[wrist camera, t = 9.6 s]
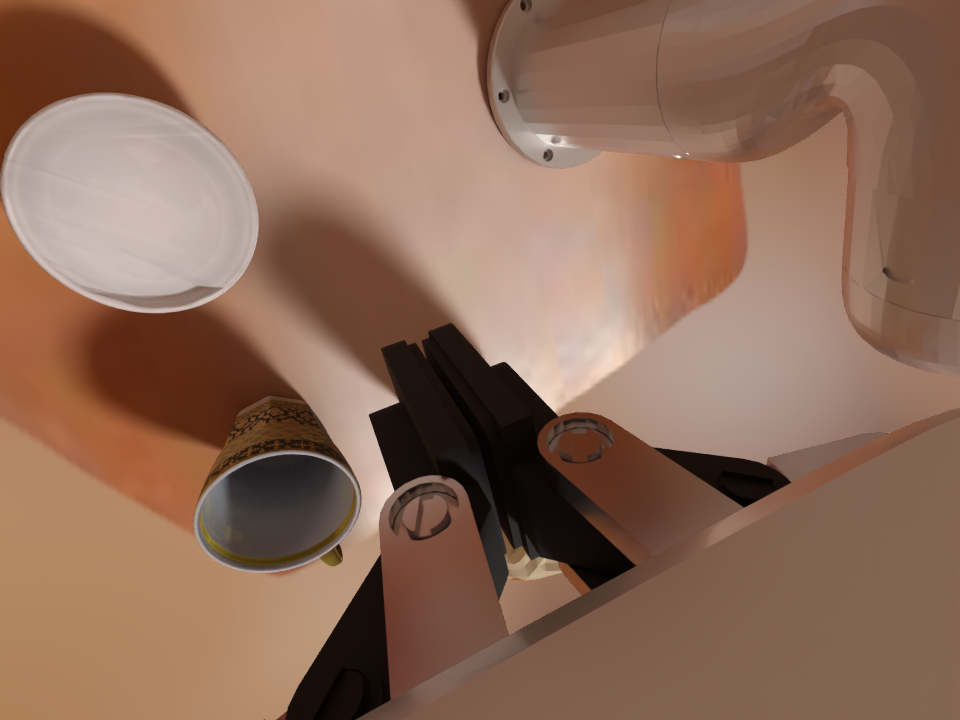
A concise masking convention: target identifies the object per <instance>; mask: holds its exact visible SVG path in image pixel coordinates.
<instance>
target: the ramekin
mask: <svg viewBox="0 0 960 720" xmlns="http://www.w3.org/2000/svg"><path fill="white" fill-rule="evenodd" d="M0 193H1V198H2V203H3V207H4V210H5V213H6V216H7V218H8V221H9V223H10V225H11V227H12V229H13V231H14V233H15V235H16V236H17V238H18V240H19V241H20V243H21V244H22V246H23V247H24V248H25V250H26V251H27V252H28V253H29V255H30V256H31V257H32V258H33V259H34V260H35V261H36V262H37V263H38V264H39V265H40V266H41V267H42V268H43V269H44V270H45V271H47V272H48V273H49V274H50V275H51V276H52V277H54V278H55V279H57V280H58V281H59V282H61V283H62V284H64V285H65V286H67V287H68V288H70V289H72V290H73V291H75V292H77V293H79V294H81V295H83V296H85V297H87V298H89V299H92V300H94V301H96V302H99V303H101V304H104V305H107V306H110V307H114V308H118V309H123V310H127V311H132V312H141V313H168V312H177V311H182V310H187V309H191V308H194V307H197V306H200V305H203V304H205V303H207V302H209V301H211V300H213V299H215V298H217V297H218V296H220V295H221V294H223V293H224V292H226V291H227V290H228V289H229V288H230V287H231V286H233V285H234V284H235V283H236V282H237V281H238V279H239V278H240V277H241V276H242V274H243V273H244V271H245V270H246V268H247V266H248V265H249V263H250V261H251V258H252V256H253V253H254V250H255V247H256V243H257V238H258V230H259V217H258V208H257V203H256V198H255V195H254V191H253V188H252V186H251V183H250V181H249V179H248V177H247V175H246V173H245V171H244V169H243V168H242V166H241V164H240V163H239V161H238V160H237V159H236V157H235V156H234V154H233V153H232V152H231V151H230V149H229V148H228V147H227V146H226V145H225V144H224V143H223V142H222V141H221V140H220V139H219V138H218V137H217V136H216V135H215V134H214V133H213V132H211V131H210V130H209V129H208V128H207V127H205V126H204V125H202V124H201V123H200V122H198V121H197V120H195V119H194V118H192V117H191V116H189V115H187V114H185V113H183V112H182V111H180V110H178V109H176V108H174V107H171V106H169V105H166V104H164V103H161V102H158V101H155V100H151V99H148V98H144V97H140V96H135V95H130V94H123V93H110V92H103V93H89V94H82V95H77V96H73V97H68V98H65V99H62V100H59V101H56V102H54V103H52V104H50V105H48V106H46V107H44V108H42V109H41V110H39V111H38V112H36V113H35V114H34V115H32V116H31V117H30V118H29V119H28V120H27V121H26V122H24V123H23V125H22V126H21V127H20V128H19V129H18V130H17V132H16V133H15V135H14V136H13V138H12V139H11V141H10V144H9V145H8V147H7V150H6V152H5V154H4V160H3V163H2V167H1V173H0Z"/></svg>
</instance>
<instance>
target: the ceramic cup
mask: <svg viewBox="0 0 960 720" xmlns="http://www.w3.org/2000/svg"><path fill="white" fill-rule="evenodd" d="M360 508H361V490H360V486H359V483H358V481H357V479H356V477H355V475H354V473H353V471H352V469H351V467H350V466H349V464H348V462H347V461H346V459H345V458H344V456H343V454H342V453H341V452H340V450H339V449H338V448H337V447H336V446H335V444H334V443H333V442H332V440H331V438H330V437H329V435H328V433H327V431H326V429H325V428H324V426H323V424H322V423H321V421H320V420H319V419H318V417H317V416H316V415H315V413H314V412H313V411H312V409H311V408H310V406H309V405H308V404H307V403H306V402H305V401H302V400H297V399H291V398H284V397H278V396H267V397H265V398H263V399H261V400H259V401H257V402H256V403H254V404H252V405H250V406H248V407H246V408H244V409H242V410H241V411H240V412H239V413H238V415H237V417H236V419H235V422H234V425H233V427H232V429H231V431H230V434H229V436H228V438H227V440H226V443H225V445H224V447H223V450H222V451H221V453H220V454H219V456H218V458H217V459H216V461H215V463H214V465H213V467H212V469H211V471H210V473H209V475H208V477H207V479H206V481H205V484H204V486H203V488H202V491H201V494H200V496H199V499H198V501H197V504H196V507H195V510H194V515H193V529H194V534H195V537H196V539H197V541H198V543H199V545H200V546H201V548H202V549H203V550H204V551H205V552H206V553H207V555H209V556H210V557H211V558H212V559H214V560H215V561H217V562H219V563H220V564H222V565H225V566H227V567H230V568H233V569H236V570H240V571H246V572H256V573H266V572H277V571H283V570H288V569H292V568H295V567H299V566H301V565H304V564H307V563H309V562H312V561H314V560H316V559H318V558H319V557H320V558H321V560H322V561H323V562H324V563H326V564H327V565H329V566H336V565H338V564H340V563H341V562H342V560H343V557H342V556H343V555H342V550H341V547H340V545H339V543H340V542H341V541H342V540H343V539H344V538H345V537H346V536H347V534H348V533H349V532H350V531H351V529H352V527H353V526H354V524H355V522H356V520H357V518H358V515H359V512H360Z"/></svg>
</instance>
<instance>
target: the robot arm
mask: <svg viewBox="0 0 960 720" xmlns="http://www.w3.org/2000/svg"><path fill="white" fill-rule="evenodd" d="M520 3H521V4H522V6H523V10H521V7H520ZM487 89H488V96H489V102H490V106H491V109H492V112H493V115H494V118H495V121H496V123H497V125H498V127H499V129H500V131H501V133H502V135H503V137H504V138H505V139H506V140H507V142H508V143H509V144H510V145H511V147H512V148H513V149H514V150H515V151H516V152H518V153H519V154H520V155H521V156H522V157H524V158H525V159H527V160H529V161H531V162H533V163H535V164H537V165H541V166H545V167H550V168H559V169H562V168H570V167H575V166H578V165H581V164H584V163H586V162H588V161H590V160H591V159H593V158H595V157H596V156H598V155H599V154H600V153H601V152H603V151H609V152H619V153H630V154H640V155H650V156H660V157H670V158H680V159H690V160H704V161H714V162H725V163H743V162H750V161H757V160H760V159H764V158H767V157H770V156H773V155H776V154H779V153H781V152H783V151H785V150H787V149H789V148H791V147H793V146H794V145H796V144H798V143H800V142H801V141H803V140H805V139H806V138H808V137H809V136H811V135H812V134H814V133H815V132H816V131H818V130H819V129H821V128H822V127H823V126H824V125H826V124H827V123H829V122H830V121H831V120H833V119H834V118H835V117H836V116H837V115H839V114H840V113H841V112H842V111H843V113H844V116H845V118H846V124H847V132H848V133H847V167H848V185H847V199H846V214H845V229H844V242H843V257H842V296H843V301H844V307H845V310H846V313H847V316H848V318H849V321H850V322H851V324H852V326H853V327H854V329H855V330H856V332H857V333H858V334H859V335H860V337H861V338H862V339H863V340H864V341H866V342H867V343H868V344H870V345H871V346H872V347H873V348H874V349H875V350H877V351H879V352H880V353H882V354H883V355H885V356H887V357H889V358H891V359H893V360H896V361H898V362H901V363H903V364H906V365H908V366H911V367H914V368H917V369H921V370H924V371H928V372H932V373H937V374H942V375H947V376H953V377H960V0H510V1H509V2H508V4H507V5H506V6H505V8H504V10H503V12H502V14H501V16H500V18H499V20H498V22H497V24H496V26H495V29H494V33H493V36H492V39H491V42H490V46H489V53H488V60H487ZM499 93H501V95H502V98H501V100H499V98H498V97H499ZM544 153H545V156H544V157H543V154H544ZM428 334H429V338H427V339H424V340H422V344H423V348H424V351H425V355H426V358H427V359H426V358H425V356H424V355H423V353H422V352H421V350H420V349H419V347H418V346H417V344H416V343H413V344H411V345H407V344H406V342H405V341H404V340H403V341H400V342H398V343H395V344H392V345H389V346H386V347H384V348H381V351H382V354H383V357H384V360H385V363H386V365H387V368H388V371H389V374H390V377H391V379H392V382H393V385H394V388H395V391H396V394H397V396H398V399H399V403H397V404H394V405H392V406H389V407H387V408H384V409H381V410H379V411H376V412H374V413H371V414H369V417H370V420H371V423H372V426H373V429H374V432H375V435H376V438H377V441H378V444H379V447H380V450H381V453H382V456H383V459H384V462H385V465H386V467H387V470H388V473H389V476H390V479H391V482H392V485H393V488H394V493H393V494H392V495H391V496H390V497H389V498H388V499H387V501H386V502H385V504H384V506H383V508H382V510H381V512H380V519H379V533H380V548H381V554H380V556H379V557H378V559H377V561H376V562H375V564H374V566H373V567H372V569H371V571H370V572H369V574H368V575H367V577H366V578H365V580H364V582H363V583H362V585H361V587H360V588H359V590H358V591H357V593H356V594H355V596H354V598H353V599H352V601H351V603H350V604H349V606H348V607H347V609H346V611H345V612H344V614H343V615H342V617H341V619H340V620H339V622H338V623H337V625H336V627H335V628H334V630H333V632H332V633H331V635H330V636H329V638H328V639H327V641H326V643H325V645H324V646H323V647H322V649H321V651H320V652H319V654H318V655H317V657H316V659H315V660H314V662H313V664H312V665H311V667H310V668H309V670H308V672H307V673H306V675H305V676H304V678H303V680H302V681H301V683H300V684H299V686H298V688H297V690H296V692H295V694H294V696H293V698H292V700H291V702H290V704H289V706H288V710H287V712H285V713H284V714H283V715H282V716H280V717H279V718H278V719H277V720H960V408H958V409H953V410H949V411H946V412H944V413H941V414H938V415H935V416H932V417H929V418H926V419H923V420H920V421H917V422H914V423H911V424H909V425H907V426H904V427H902V428H900V429H898V430H895V431H893V432H891V433H882V432H876V433H866V434H861V435H857V436H853V437H849V438H845V439H841V440H837V441H833V442H829V443H826V444H821V445H817V446H813V447H810V448H806V449H802V450H798V451H794V452H790V453H786V454H782V455H778V456H774V457H770V458H768V460H767V465H764V464H762V463H759V462H755V461H750V460H746V459H740V458H732V457H724V456H717V455H709V454H701V453H693V452H685V451H677V450H670V449H661V448H654V447H651V446H649V445H648V444H646V443H645V442H643V441H642V440H640V439H639V438H637V437H636V436H634V435H633V434H631V433H630V432H628V431H626V430H624V429H623V428H622V427H620V426H619V425H617V424H616V423H614V422H613V421H611V420H609V419H607V418H605V417H603V416H601V415H597V414H593V413H585V412H582V413H581V412H578V413H577V412H575V413H570V414H565V415H562V416H560V417H558V416H557V415H556V413H555V412H554V411H553V410H552V409H551V408H550V407H549V406H548V405H547V404H546V403H545V402H544V401H543V400H542V399H541V398H540V397H539V396H538V395H537V394H536V393H535V392H534V391H533V390H532V389H531V388H530V387H529V385H528V384H527V383H526V382H525V381H524V380H523V379H522V378H521V377H520V376H519V375H518V374H517V373H516V372H515V371H514V370H513V369H512V368H511V367H510V366H509V365H508V364H507V363H506V362H502V363H499V364H496V365H494V366H491V367H490V366H489V365H488V363H487V362H486V361H485V360H484V359H483V358H482V357H481V356H480V354H479V353H478V352H477V351H476V350H475V349H474V348H473V346H472V345H471V344H470V343H469V342H468V341H467V340H466V339H465V337H464V336H463V335H462V334H461V333H460V332H459V331H458V330H457V328H456V327H455V326H454V325H453V324H452V323H450V324H448V325H445V326H442V327H439V328H436V329H434V330H431V331H429V333H428ZM501 528H502V530H503V532H504V534H505V535H506V537H507V539H508V541H509V543H510V544H511V546H512V547H513V549H517V548H519V547H521V546H523V548H524V550H525V551H526V553H527V555H528V556H529V558H530V560H531V561H532V560H534V559H535V558H537V557H539V556H540V557H541V558H546V559H550V560H554V561H557V562H558V566H559V568H560V570H561V571H562V573H563V574H564V576H565V577H566V578H567V579H568V580H569V581H570V583H571V584H572V585H573V586H574V587H575V588H576V589H577V591H578V592H579V593H580V594H581V595H582V596H580V597H579V598H577V599H575V600H573V601H571V602H569V603H568V604H566V605H564V606H562V607H560V608H558V609H557V610H555V611H553V612H551V613H549V614H547V615H545V616H544V617H542V618H540V619H538V620H536V621H534V622H533V623H531V624H529V625H527V626H525V627H523V628H522V629H520V630H518V631H516V632H514V633H513V634H511V635H509V633H508V630H507V626H506V623H505V620H504V616H503V613H502V609H501V606H500V603H499V599H500V596H501V594H502V591H503V588H504V586H505V583H506V580H507V578H508V575H509V570H508V566H507V563H506V559H505V554H507V550H506V546H505V542H504V538H503V534H502V531H501Z"/></svg>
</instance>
